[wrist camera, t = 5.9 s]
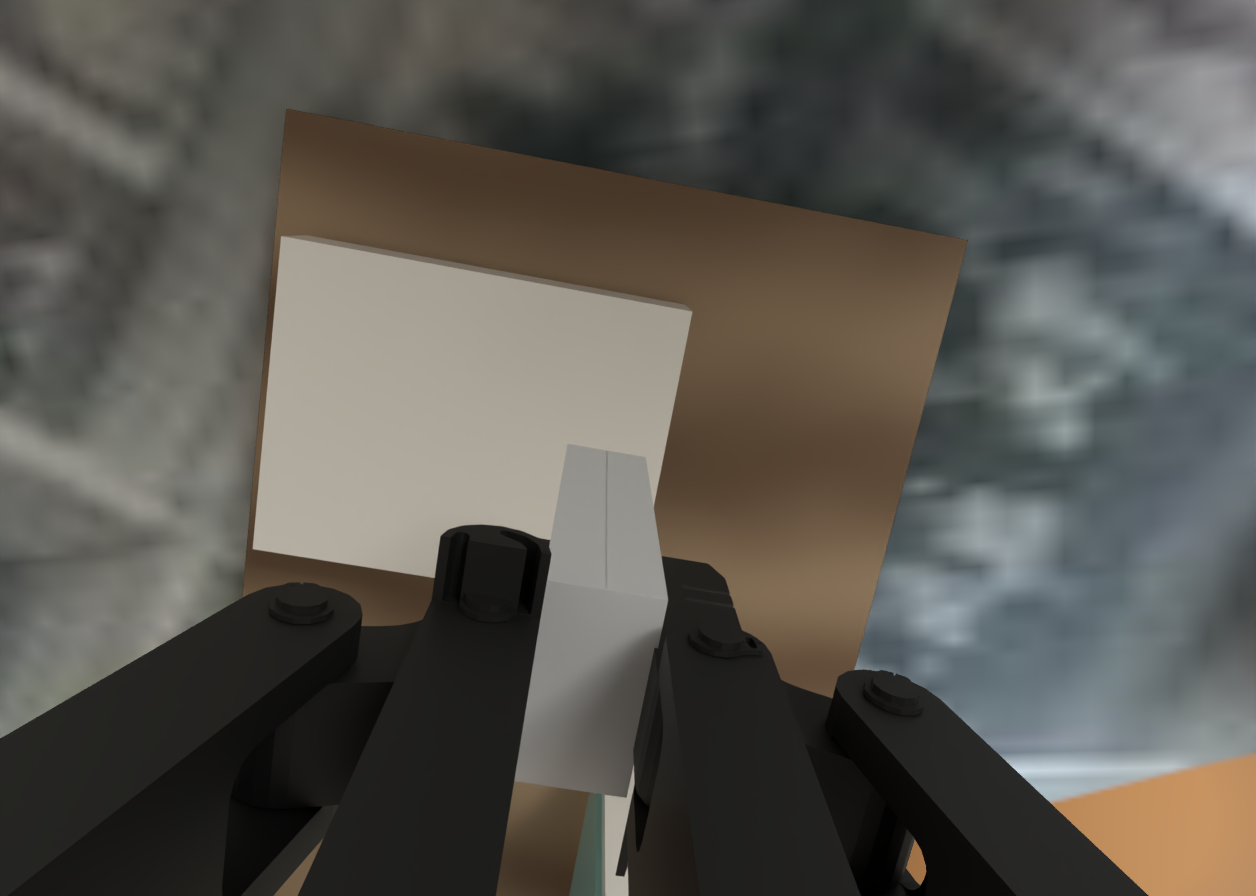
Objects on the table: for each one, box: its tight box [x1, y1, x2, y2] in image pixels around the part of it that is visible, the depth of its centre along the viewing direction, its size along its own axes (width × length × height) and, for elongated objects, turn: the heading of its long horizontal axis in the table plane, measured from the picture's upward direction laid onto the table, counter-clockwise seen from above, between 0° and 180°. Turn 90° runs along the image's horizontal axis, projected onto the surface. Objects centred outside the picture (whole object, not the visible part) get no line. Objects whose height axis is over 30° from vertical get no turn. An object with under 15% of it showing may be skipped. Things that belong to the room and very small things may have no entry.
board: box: [242, 109, 968, 896], centre depth 27 cm, size 26×18×1 cm
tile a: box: [253, 235, 692, 578], centre depth 24 cm, size 8×2×10 cm
